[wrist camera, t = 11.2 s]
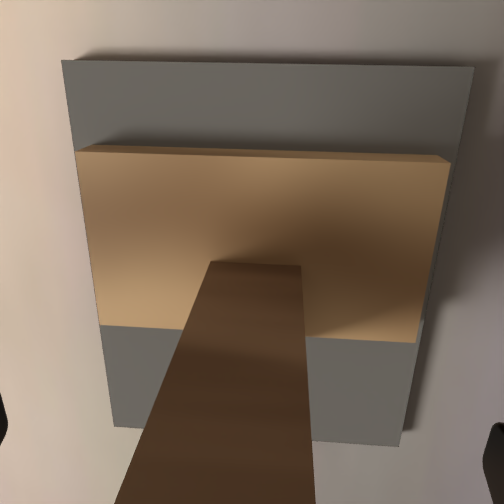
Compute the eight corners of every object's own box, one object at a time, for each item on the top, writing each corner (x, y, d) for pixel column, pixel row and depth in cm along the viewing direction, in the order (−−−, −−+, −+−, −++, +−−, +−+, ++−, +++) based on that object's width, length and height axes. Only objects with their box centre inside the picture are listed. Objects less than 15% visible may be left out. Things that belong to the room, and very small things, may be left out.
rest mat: (394, 433, 15) (398, 447, 15) (119, 414, 16) (113, 426, 16) (465, 66, 11) (475, 66, 10) (72, 60, 11) (61, 60, 11)
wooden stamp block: (405, 329, 13) (603, 778, 5) (113, 312, 14) (-153, 688, 5) (437, 155, 11) (876, 421, 3) (91, 144, 12) (-389, 339, 3)
